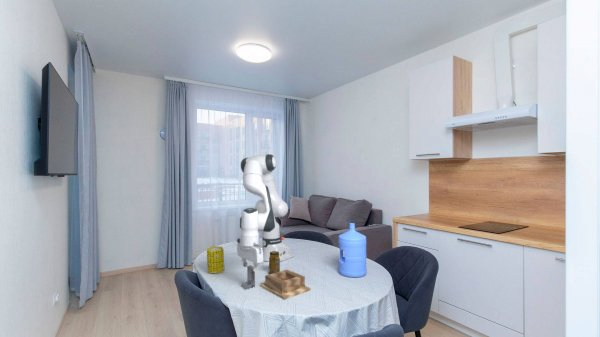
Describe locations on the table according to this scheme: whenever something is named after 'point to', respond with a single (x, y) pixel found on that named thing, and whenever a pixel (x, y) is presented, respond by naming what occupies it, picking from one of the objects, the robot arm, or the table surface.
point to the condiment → (274, 262)
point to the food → (215, 259)
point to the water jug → (352, 253)
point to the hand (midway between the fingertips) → (249, 268)
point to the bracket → (249, 278)
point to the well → (285, 284)
